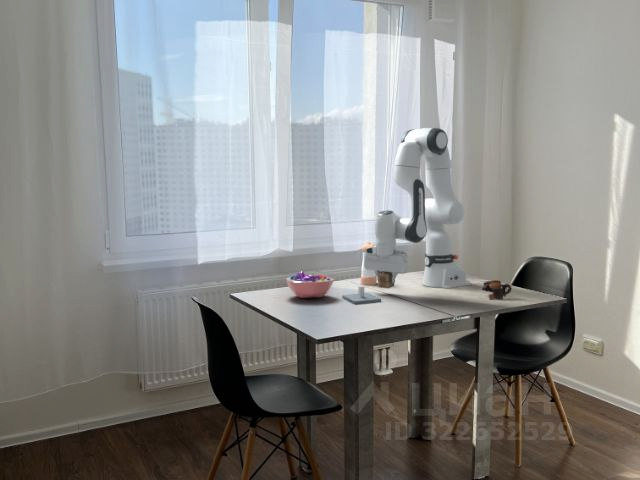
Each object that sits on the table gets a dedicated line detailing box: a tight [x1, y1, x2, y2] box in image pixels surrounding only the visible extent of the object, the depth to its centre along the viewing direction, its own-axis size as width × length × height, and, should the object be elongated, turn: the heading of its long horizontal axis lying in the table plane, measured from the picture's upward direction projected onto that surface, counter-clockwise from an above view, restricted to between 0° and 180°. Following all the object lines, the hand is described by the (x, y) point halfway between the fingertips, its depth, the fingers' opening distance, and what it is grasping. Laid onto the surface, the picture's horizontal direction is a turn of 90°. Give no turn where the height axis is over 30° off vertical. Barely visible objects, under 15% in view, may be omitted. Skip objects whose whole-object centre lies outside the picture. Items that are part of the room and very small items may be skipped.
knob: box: [377, 271, 395, 289], centre depth 272 cm, size 5×5×7 cm
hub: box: [341, 285, 382, 305], centre depth 263 cm, size 12×12×6 cm
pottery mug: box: [481, 279, 513, 300], centre depth 267 cm, size 12×10×8 cm
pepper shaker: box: [360, 242, 378, 286], centre depth 294 cm, size 7×7×19 cm
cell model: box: [285, 270, 335, 299], centre depth 267 cm, size 17×20×11 cm
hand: (386, 281), depth 272 cm, fingers closed on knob, 5 cm apart
